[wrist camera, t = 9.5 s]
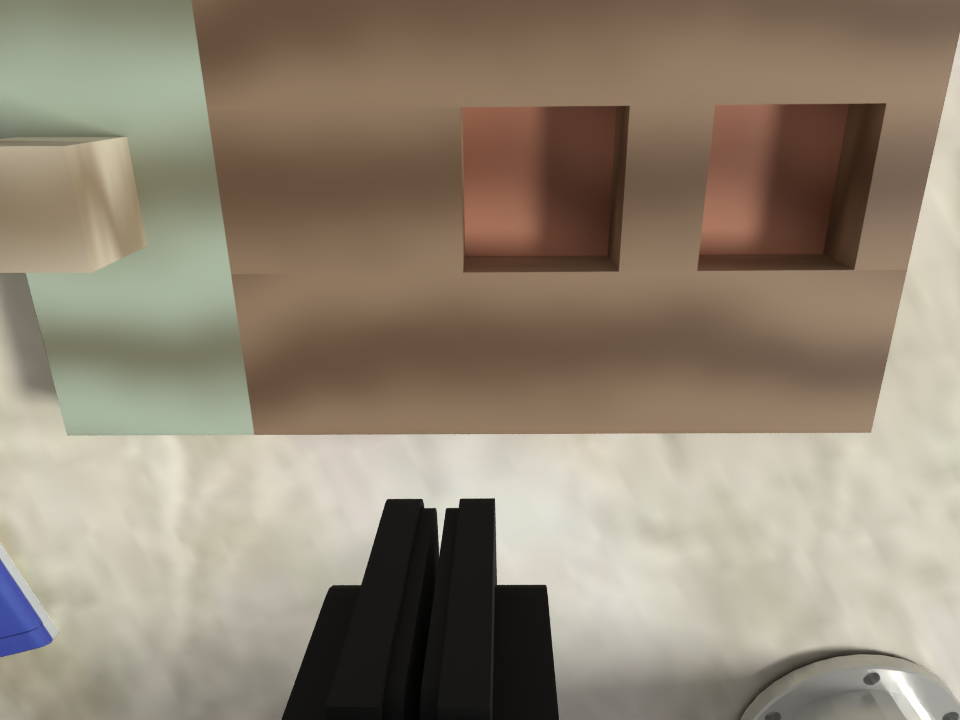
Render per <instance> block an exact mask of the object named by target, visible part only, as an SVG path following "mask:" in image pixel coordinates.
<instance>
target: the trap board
mask: <svg viewBox="0 0 960 720" xmlns="http://www.w3.org/2000/svg"><path fill="white" fill-rule="evenodd" d="M959 33H960V0H0V139H4V138H13V137H127V140H128V145H129V151H130V156H131V162H132V167H133V173H134V178H135V184H136V189H137V194H138V200H139V205H140V211H141V216H142V222H143V227H144V233H145V238H146V244H147V246H146V247H144V248H142V249H140V250H138V251H136V252H134V253H132V254H130V255H128V256H126V257H124V258H122V259H119V260H117V261H115V262H113V263H111V264H109V265H107V266H105V267H103V268H101V269H99V270H97V271H95V272H93V273H26V276H27V280H28V284H29V288H30V292H31V296H32V300H33V304H34V307H35V311H36V315H37V319H38V323H39V327H40V331H41V335H42V339H43V343H44V346H45V350H46V354H47V358H48V362H49V366H50V370H51V374H52V378H53V382H54V385H55V389H56V393H57V397H58V401H59V405H60V409H61V413H62V417H63V421H64V424H65V428H66V432H67V435H325V434H596V433H867V432H871V429H872V425H873V420H874V416H875V411H876V407H877V402H878V398H879V393H880V389H881V384H882V380H883V375H884V371H885V366H886V362H887V357H888V353H889V348H890V344H891V339H892V335H893V330H894V326H895V321H896V317H897V312H898V308H899V303H900V299H901V294H902V290H903V285H904V281H905V276H906V272H907V267H908V263H909V258H910V254H911V249H912V245H913V240H914V236H915V231H916V227H917V222H918V218H919V213H920V209H921V204H922V200H923V195H924V191H925V186H926V182H927V177H928V173H929V168H930V164H931V159H932V155H933V150H934V146H935V141H936V137H937V132H938V128H939V123H940V119H941V114H942V110H943V105H944V101H945V96H946V92H947V87H948V83H949V78H950V74H951V69H952V65H953V60H954V56H955V51H956V47H957V42H958V38H959Z"/></svg>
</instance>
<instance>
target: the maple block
mask: <svg viewBox="0 0 960 720" xmlns="http://www.w3.org/2000/svg"><path fill="white" fill-rule="evenodd" d="M146 246H147V244H146V238H145V233H144V227H143V222H142V216H141V211H140V205H139V200H138V194H137V189H136V184H135V178H134V173H133V167H132V162H131V156H130V151H129V145H128V140H127V137H13V138H4V139H0V273H93V272H95V271H97V270H99V269H101V268H103V267H105V266H107V265H109V264H111V263H113V262H115V261H117V260H119V259H122V258H124V257H126V256H128V255H130V254H132V253H134V252H136V251H138V250H140V249H142V248H144V247H146Z"/></svg>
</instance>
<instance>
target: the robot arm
mask: <svg viewBox="0 0 960 720" xmlns="http://www.w3.org/2000/svg"><path fill="white" fill-rule="evenodd" d="M282 720H559V715H558V704H557V693H556V682H555V671H554V660H553V649H552V638H551V627H550V616H549V605H548V595H547V587H546V585H497V568H496V522H495V498H494V499H460V503H459V508H447V509H446V513H445V520H444V527H443V535H442V542H441V549H440V556H439V543H438V524H437V511H436V508H424V503H423V500H422V499H388V500H387V501H386V503H385V506H384V510H383V513H382V516H381V520H380V523H379V527H378V530H377V534H376V537H375V540H374V544H373V547H372V551H371V554H370V557H369V561H368V564H367V568H366V571H365V574H364V578H363V581H362V585H333V586H332V587H330V588H329V590H328V593H327V595H326V597H325V600H324V603H323V606H322V608H321V611H320V614H319V617H318V619H317V622H316V625H315V628H314V631H313V633H312V636H311V639H310V642H309V645H308V647H307V650H306V653H305V656H304V658H303V661H302V664H301V667H300V670H299V672H298V675H297V678H296V681H295V684H294V686H293V689H292V692H291V695H290V697H289V700H288V703H287V706H286V709H285V711H284V714H283V717H282ZM740 720H960V703H959V702H958V700H957V699H956V697H955V696H954V695H953V693H952V692H951V690H950V689H949V688H948V687H947V686H946V685H945V684H944V683H943V682H942V681H941V679H940V678H939V677H938V676H936V675H935V674H933V673H932V672H930V671H929V670H927V669H925V668H924V667H922V666H920V665H917V664H915V663H912V662H910V661H907V660H904V659H900V658H895V657H890V656H885V655H867V654H857V655H848V656H839V657H833V658H829V659H825V660H821V661H817V662H814V663H811V664H809V665H806V666H804V667H801V668H799V669H796V670H794V671H792V672H790V673H789V674H787V675H785V676H784V677H782V678H780V679H778V680H777V681H775V682H774V683H773V684H771V685H770V686H769V687H768V688H766V689H765V690H764V691H763V692H761V693H760V694H759V695H758V696H757V697H756V698H755V700H754V701H753V702H752V703H751V704H750V705H749V706H748V708H747V709H746V710H745V712H744V714H743V715H742V717H741V719H740Z"/></svg>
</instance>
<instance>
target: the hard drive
mask: <svg viewBox="0 0 960 720" xmlns="http://www.w3.org/2000/svg"><path fill="white" fill-rule="evenodd" d="M58 633H59V631H58V630H57V628H56V627H55V625H54V624H53V622H52V621H51V619H50V618H49V616H48V615H47V613H46V611H45V610H44V608H43V607H42V605H41V604H40V602H39V601H38V599H37V598H36V596H35V595H34V593H33V592H32V590H31V588H30V587H29V585H28V584H27V582H26V581H25V579H24V578H23V576H22V575H21V573H20V572H19V570H18V569H17V567H16V566H15V564H14V563H13V561H12V560H11V558H10V557H9V555H8V554H7V552H6V551H5V549H4V548H3V546H2V544H1V543H0V657H3V656H7V655H11V654H15V653H20V652H24V651H28V650H32V649H36V648H40V647H43V646H45V645H48V644H50V643H51V642H52V641H53V639H54V638H55V637H56V636H57V634H58Z"/></svg>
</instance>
